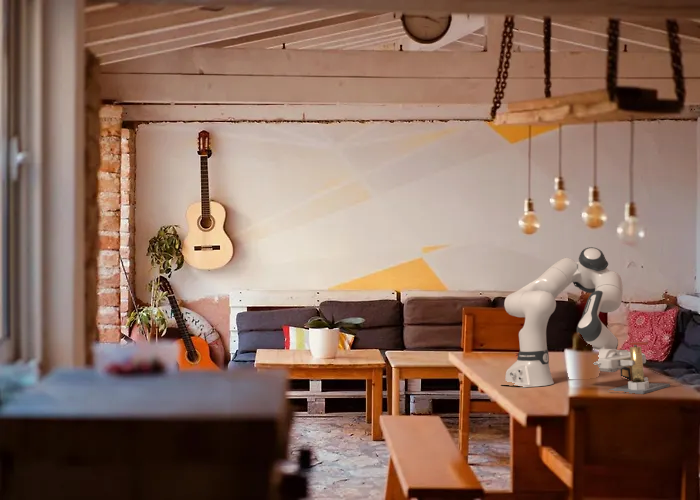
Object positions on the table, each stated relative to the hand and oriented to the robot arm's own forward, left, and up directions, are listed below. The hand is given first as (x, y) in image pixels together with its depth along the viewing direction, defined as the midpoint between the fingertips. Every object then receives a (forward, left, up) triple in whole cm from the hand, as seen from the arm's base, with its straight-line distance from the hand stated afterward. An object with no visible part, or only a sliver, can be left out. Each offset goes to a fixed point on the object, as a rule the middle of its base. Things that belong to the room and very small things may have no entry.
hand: (638, 362), depth 315 cm
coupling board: (-3, +4, -11) cm, 12 cm away
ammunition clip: (-22, +29, -11) cm, 38 cm away
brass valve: (0, 0, -9) cm, 9 cm away
